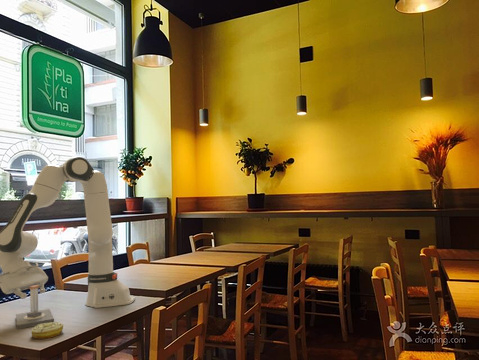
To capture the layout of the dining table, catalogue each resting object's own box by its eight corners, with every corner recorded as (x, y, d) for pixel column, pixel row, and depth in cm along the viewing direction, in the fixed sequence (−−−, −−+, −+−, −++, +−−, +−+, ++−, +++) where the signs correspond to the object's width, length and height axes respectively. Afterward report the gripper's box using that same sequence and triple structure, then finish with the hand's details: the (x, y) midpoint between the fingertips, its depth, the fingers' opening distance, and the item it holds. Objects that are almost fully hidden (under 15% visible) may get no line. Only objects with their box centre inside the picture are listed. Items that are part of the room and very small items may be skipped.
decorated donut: (55, 328, 150) (55, 318, 150) (68, 333, 143) (68, 323, 143) (26, 336, 142) (26, 325, 142) (39, 342, 135) (39, 331, 135)
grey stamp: (27, 317, 160) (26, 286, 161) (34, 314, 163) (34, 284, 164) (34, 317, 159) (34, 287, 159) (41, 315, 162) (41, 285, 163)
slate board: (15, 317, 165) (15, 314, 165) (49, 312, 172) (49, 308, 172) (17, 329, 150) (17, 324, 150) (54, 322, 157) (54, 318, 157)
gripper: (-2, 270, 155) (16, 295, 151) (40, 261, 174) (57, 284, 170) (-10, 280, 156) (8, 306, 152) (32, 271, 175) (49, 294, 171)
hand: (34, 294), depth 161 cm, fingers open, 8 cm apart
